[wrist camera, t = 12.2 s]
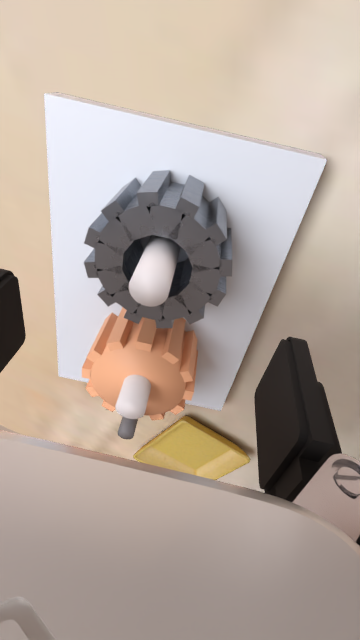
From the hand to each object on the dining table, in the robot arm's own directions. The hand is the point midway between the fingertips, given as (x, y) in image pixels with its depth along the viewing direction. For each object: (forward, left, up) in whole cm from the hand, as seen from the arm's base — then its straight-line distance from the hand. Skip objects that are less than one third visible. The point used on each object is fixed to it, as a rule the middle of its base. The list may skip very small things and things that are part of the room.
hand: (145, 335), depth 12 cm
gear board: (+5, -1, -11) cm, 12 cm away
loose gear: (0, 0, -9) cm, 9 cm away
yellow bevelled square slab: (+23, +5, -12) cm, 26 cm away
